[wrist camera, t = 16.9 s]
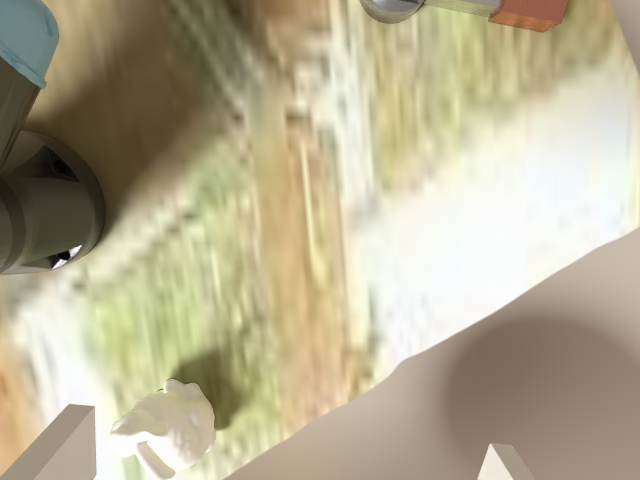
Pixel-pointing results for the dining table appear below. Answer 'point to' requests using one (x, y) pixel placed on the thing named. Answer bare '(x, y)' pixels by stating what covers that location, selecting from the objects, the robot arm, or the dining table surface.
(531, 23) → the ratchet
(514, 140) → the dining table surface
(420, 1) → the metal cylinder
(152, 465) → the rabbit
